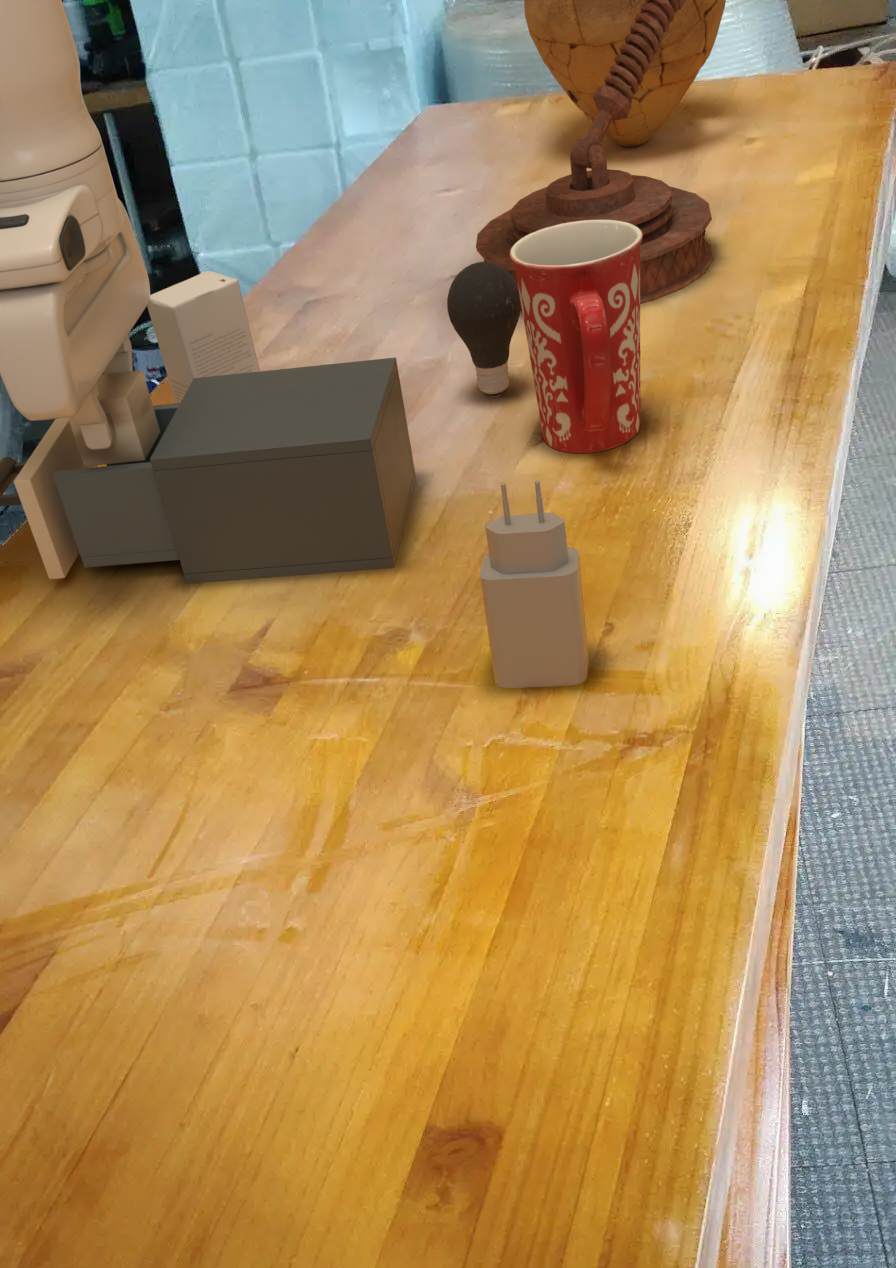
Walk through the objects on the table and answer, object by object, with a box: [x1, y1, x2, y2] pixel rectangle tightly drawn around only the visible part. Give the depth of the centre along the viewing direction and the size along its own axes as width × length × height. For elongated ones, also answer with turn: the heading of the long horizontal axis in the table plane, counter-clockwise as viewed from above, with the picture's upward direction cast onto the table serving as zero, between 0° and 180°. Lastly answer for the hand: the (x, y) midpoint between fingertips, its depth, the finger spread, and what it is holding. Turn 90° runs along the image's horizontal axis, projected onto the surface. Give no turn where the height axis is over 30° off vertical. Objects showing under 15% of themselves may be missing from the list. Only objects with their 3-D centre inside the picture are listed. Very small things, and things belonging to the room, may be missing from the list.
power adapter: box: [479, 479, 590, 689], centre depth 82 cm, size 3×5×12 cm, turn 82°
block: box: [68, 369, 160, 466], centre depth 99 cm, size 4×4×4 cm
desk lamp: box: [475, 0, 714, 312], centre depth 118 cm, size 21×32×40 cm, turn 132°
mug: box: [510, 220, 643, 454], centre depth 103 cm, size 13×9×14 cm
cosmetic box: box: [146, 270, 261, 403], centre depth 113 cm, size 6×4×12 cm
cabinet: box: [150, 357, 417, 585], centre depth 101 cm, size 15×13×9 cm
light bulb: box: [446, 261, 522, 398], centre depth 112 cm, size 6×6×10 cm
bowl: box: [523, 0, 727, 148], centre depth 151 cm, size 21×20×20 cm
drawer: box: [0, 402, 180, 580], centre depth 103 cm, size 18×11×7 cm, turn 84°
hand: (114, 425), depth 100 cm, fingers closed on block, 4 cm apart
